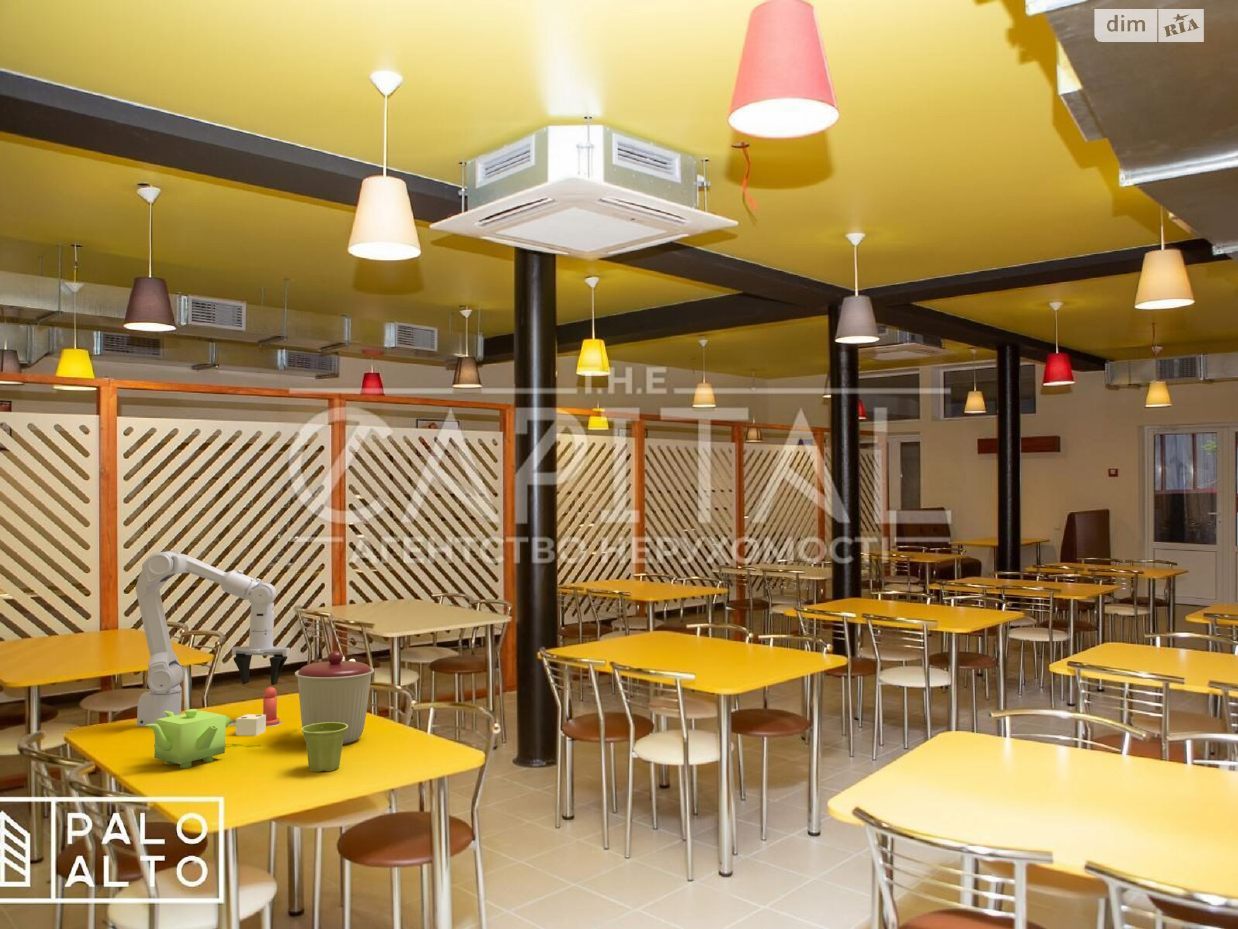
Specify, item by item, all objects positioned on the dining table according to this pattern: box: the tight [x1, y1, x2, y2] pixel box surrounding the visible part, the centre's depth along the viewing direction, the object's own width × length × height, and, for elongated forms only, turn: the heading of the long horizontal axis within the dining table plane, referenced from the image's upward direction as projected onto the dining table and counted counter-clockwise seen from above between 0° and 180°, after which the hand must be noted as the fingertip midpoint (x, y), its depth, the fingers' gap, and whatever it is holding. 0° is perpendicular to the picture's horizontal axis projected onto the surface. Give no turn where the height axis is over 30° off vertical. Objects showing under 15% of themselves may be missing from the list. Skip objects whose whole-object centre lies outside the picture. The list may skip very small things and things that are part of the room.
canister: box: [294, 650, 375, 745], centre depth 216 cm, size 18×18×21 cm
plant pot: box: [301, 722, 348, 773], centre depth 192 cm, size 9×9×9 cm
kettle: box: [144, 708, 232, 769], centre depth 196 cm, size 15×14×11 cm
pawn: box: [262, 686, 280, 727], centre depth 228 cm, size 5×5×9 cm
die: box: [235, 713, 267, 737], centre depth 218 cm, size 5×5×5 cm
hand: (259, 684), depth 232 cm, fingers open, 7 cm apart
